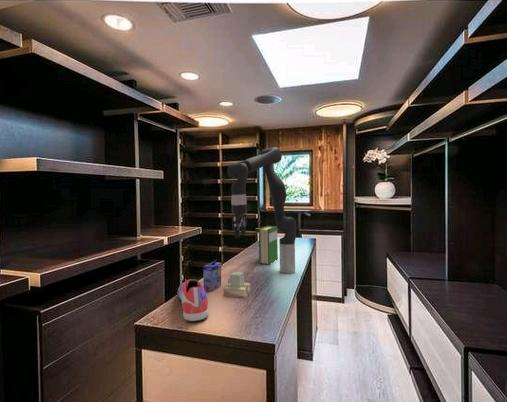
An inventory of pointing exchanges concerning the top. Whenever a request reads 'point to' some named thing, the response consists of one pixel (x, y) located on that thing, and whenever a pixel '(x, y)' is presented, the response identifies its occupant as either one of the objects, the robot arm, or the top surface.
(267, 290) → the top surface
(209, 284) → the ink cartridge box
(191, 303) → the soccer shoe
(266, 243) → the hardback book
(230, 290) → the maple block
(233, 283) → the sage block
